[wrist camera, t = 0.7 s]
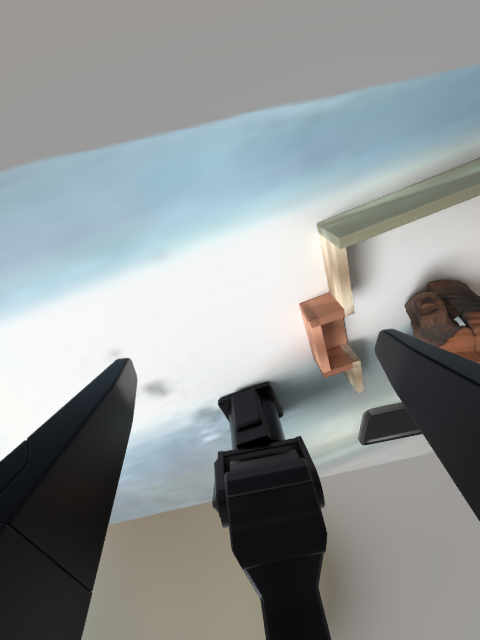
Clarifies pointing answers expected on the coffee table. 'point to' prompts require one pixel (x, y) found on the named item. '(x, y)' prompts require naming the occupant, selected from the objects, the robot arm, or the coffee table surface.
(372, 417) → the phone
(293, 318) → the coffee table surface
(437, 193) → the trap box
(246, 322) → the coffee table surface
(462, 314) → the pottery mug
